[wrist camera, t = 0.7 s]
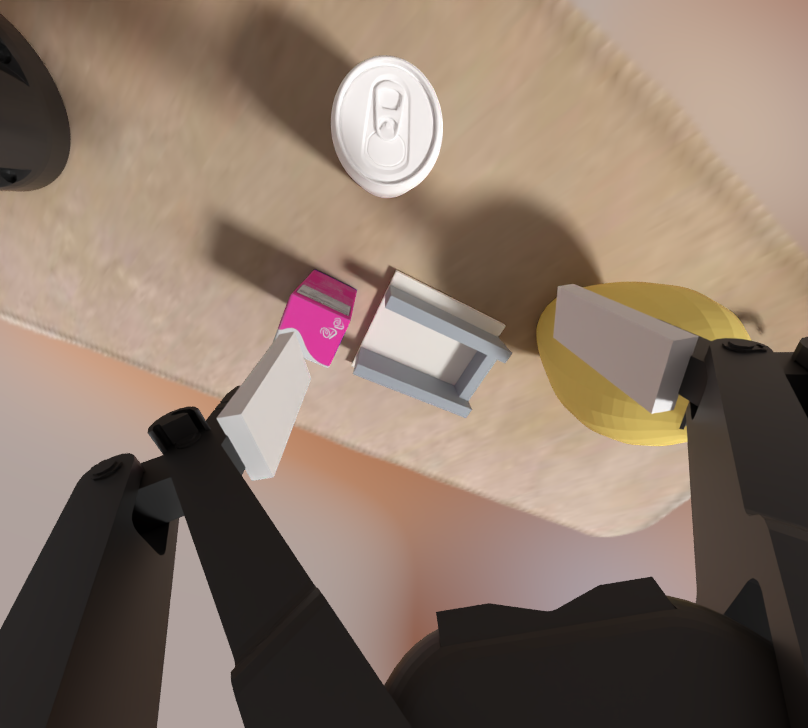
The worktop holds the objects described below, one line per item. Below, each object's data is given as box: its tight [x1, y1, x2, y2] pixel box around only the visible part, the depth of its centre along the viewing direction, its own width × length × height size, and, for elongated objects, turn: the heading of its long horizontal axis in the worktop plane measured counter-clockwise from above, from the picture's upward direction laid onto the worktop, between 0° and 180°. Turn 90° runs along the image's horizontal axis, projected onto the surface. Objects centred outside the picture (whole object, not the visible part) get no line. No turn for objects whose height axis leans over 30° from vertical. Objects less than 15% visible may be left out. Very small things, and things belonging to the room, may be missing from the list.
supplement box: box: [273, 269, 357, 368], centre depth 33 cm, size 6×6×12 cm
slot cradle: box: [352, 270, 512, 418], centre depth 39 cm, size 16×14×6 cm
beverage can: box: [331, 55, 443, 198], centre depth 26 cm, size 8×8×12 cm
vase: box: [536, 282, 751, 446], centre depth 29 cm, size 16×16×28 cm
